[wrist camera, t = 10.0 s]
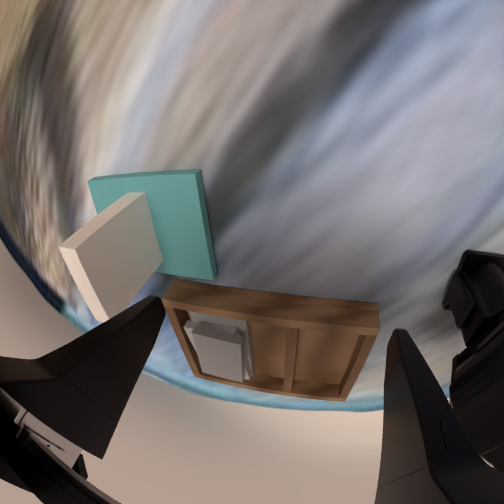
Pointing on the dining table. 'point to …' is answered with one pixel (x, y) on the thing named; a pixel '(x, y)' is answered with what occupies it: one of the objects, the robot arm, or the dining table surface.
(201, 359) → the offcut stack
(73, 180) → the dining table surface
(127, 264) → the beige rectangular block
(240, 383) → the wooden divided tray
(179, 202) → the mat
